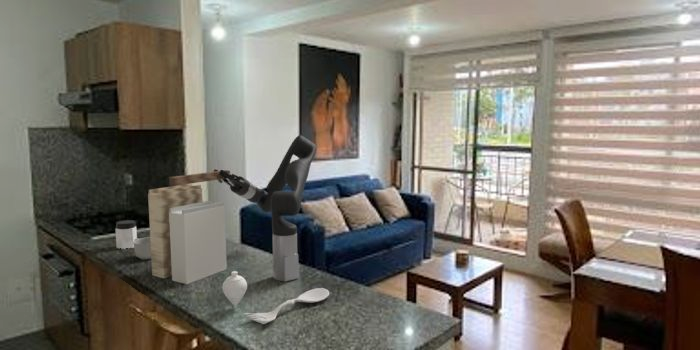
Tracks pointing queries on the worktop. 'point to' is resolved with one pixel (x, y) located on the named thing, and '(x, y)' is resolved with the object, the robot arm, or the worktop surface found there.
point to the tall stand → (166, 222)
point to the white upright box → (197, 241)
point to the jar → (125, 234)
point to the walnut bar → (195, 178)
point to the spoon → (308, 297)
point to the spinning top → (234, 288)
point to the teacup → (142, 248)
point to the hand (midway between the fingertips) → (217, 171)
